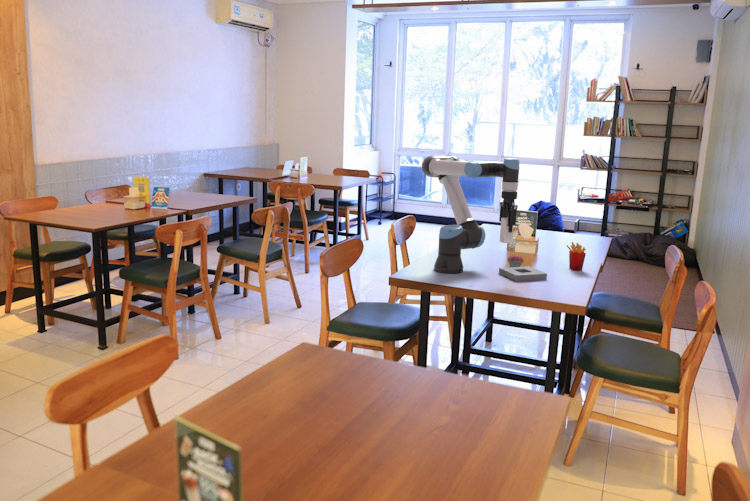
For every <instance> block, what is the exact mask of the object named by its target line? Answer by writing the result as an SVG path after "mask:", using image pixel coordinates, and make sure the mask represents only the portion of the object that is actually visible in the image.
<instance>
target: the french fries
mask: <svg viewBox="0 0 750 501" xmlns="http://www.w3.org/2000/svg"><path fill="white" fill-rule="evenodd" d="M566 247H567V249H568V251H569V252H568V253H569V254H568V257H569V258H568V259H569V260H568V261H569V270H571V271H574V272H577V271H579V272H582V271H583V267H584V263H585V259H586V254H587V253H586V252H585V251H586V247H585V246H583V247H582V244H579V242H576V244H575V243H574V241H572V242H571V245H570V246H569V245H568V244H566Z"/></svg>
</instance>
